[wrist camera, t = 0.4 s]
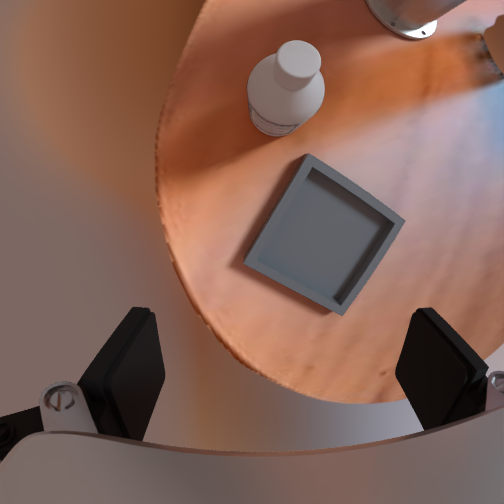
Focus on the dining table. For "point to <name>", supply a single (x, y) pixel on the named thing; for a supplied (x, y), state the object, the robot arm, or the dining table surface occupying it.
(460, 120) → the dining table surface
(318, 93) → the bath foam
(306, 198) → the blue-gray tray
